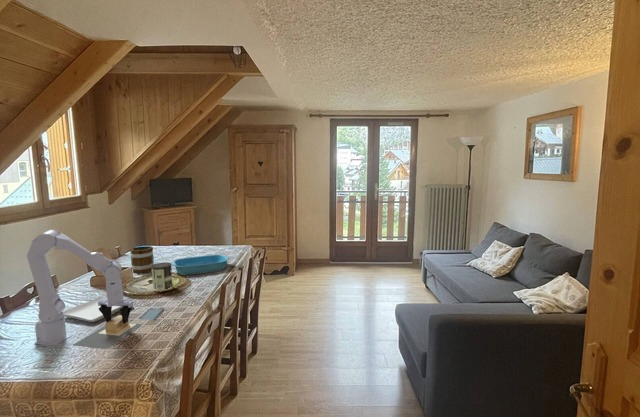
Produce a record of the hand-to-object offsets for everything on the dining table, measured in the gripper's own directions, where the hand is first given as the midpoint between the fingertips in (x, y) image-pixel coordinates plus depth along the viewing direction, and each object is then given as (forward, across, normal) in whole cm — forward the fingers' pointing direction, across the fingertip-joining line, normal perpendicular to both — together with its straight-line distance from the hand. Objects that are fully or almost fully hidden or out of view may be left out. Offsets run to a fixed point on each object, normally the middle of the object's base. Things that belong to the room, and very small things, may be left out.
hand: (117, 322), depth 143 cm
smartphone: (+4, +6, +14) cm, 15 cm away
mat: (+3, 0, -4) cm, 6 cm away
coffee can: (+4, -8, +47) cm, 47 cm away
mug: (+4, -42, +80) cm, 90 cm away
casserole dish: (+4, -3, +83) cm, 83 cm away
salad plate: (+4, -21, +14) cm, 26 cm away
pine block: (+3, 0, 0) cm, 3 cm away
